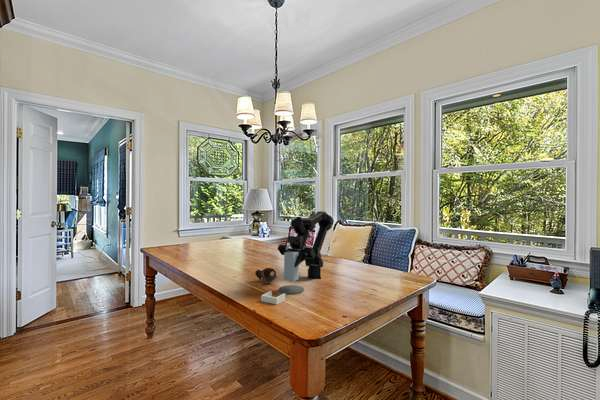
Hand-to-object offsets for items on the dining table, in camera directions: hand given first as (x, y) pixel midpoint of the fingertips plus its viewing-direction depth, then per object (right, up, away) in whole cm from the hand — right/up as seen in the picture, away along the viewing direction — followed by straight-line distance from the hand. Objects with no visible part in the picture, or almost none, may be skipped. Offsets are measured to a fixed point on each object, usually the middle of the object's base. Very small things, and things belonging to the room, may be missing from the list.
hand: (290, 266), depth 136 cm
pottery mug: (-13, -12, +15) cm, 23 cm away
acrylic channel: (-7, -12, -12) cm, 18 cm away
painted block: (+1, -7, +1) cm, 7 cm away
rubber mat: (+1, -12, +1) cm, 12 cm away
